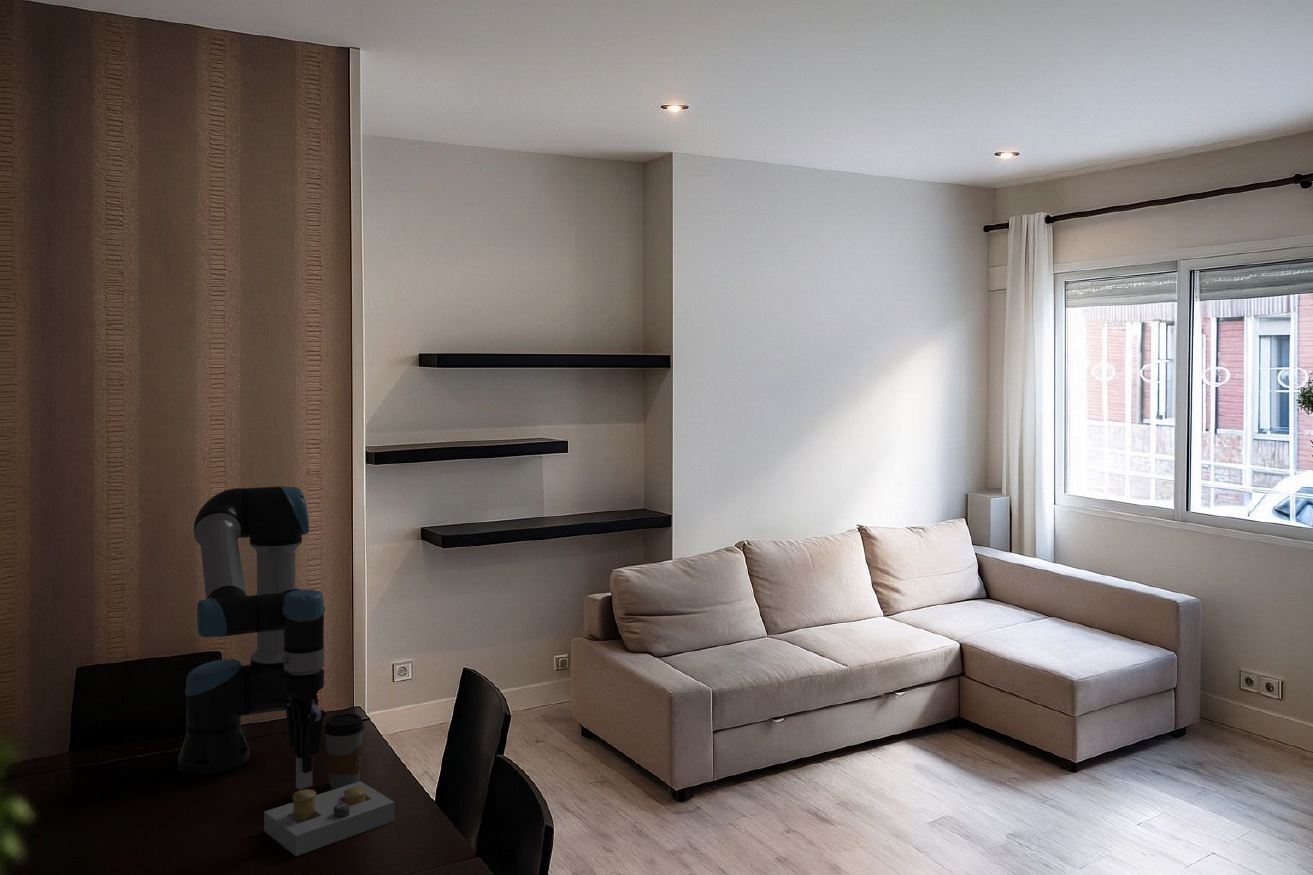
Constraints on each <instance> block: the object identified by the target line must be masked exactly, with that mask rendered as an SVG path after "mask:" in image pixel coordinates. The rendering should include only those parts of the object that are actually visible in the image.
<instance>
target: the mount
mask: <svg viewBox="0 0 1313 875" xmlns="http://www.w3.org/2000/svg"><path fill="white" fill-rule="evenodd" d="M353 787H363V788H365V789H366V794H365V801H364V802H361V803H358V804H355V805H352V806H349V805H348V804H346V803H345V796H344V791H345V790H347V789H349V788H353ZM263 814H264V815H263V817H264V818H263V821H264V822H263V831H264V832H265V834H267V835H268V836H270V837H271V838H273V839H274V840H275V841H276V842H277V843H279V845H281V846H282V847H283V848H285V849H286V851H289V853H291V854H293V855H294V856H295V857H299V856H301V855H304V854H307V853H309V852H312V851H315V850H317V849H321V848H323V847H325V846H329V845H330V844H331V845H332V844H334V843H337V842H340V841H343V840H346V839H348V838H351V837H353V836H357V835H359V834H362V833H365V832H367V831H370V830H373V829H376V828H379V827H382V826H384V825H387V824H389V823H392V822H395V801H393V800H392V799H391V798H388V797H387V796H386V795H384V794H382V793H380V792H379V791H377V790H375V789H374V788H372V787H370V786H369V785H368V784H366V783H364V782H362V781H360V780H359V782H356V783H353V784H350V785H347V786H344V787H340V788H337V789H330V790H329V791H325V792H321V793H319V794H316V796H315V814H314V815H313V816H311V817H308V818H302V819H299V818H295V817H294V816H293V802H291V803H287V804H284V805H281V806H277V807H274V808H271V809H268V810H265V811H263Z"/></svg>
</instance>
